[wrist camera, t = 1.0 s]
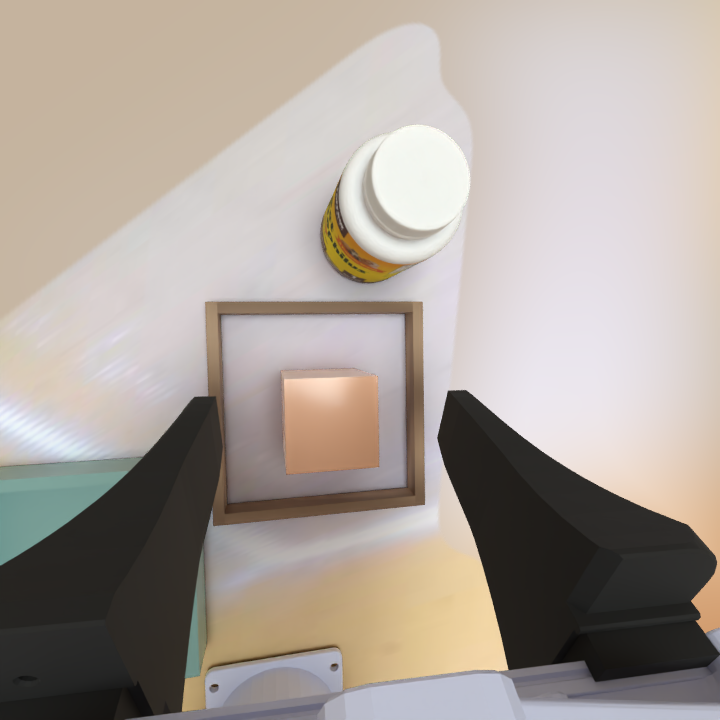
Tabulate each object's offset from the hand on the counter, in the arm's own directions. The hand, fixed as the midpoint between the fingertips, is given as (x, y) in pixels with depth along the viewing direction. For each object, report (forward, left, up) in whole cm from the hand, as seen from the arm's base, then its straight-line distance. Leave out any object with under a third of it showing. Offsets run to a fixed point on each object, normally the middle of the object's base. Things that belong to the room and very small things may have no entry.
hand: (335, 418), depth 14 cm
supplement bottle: (+8, -4, -13) cm, 16 cm away
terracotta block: (-2, -1, -13) cm, 13 cm away
